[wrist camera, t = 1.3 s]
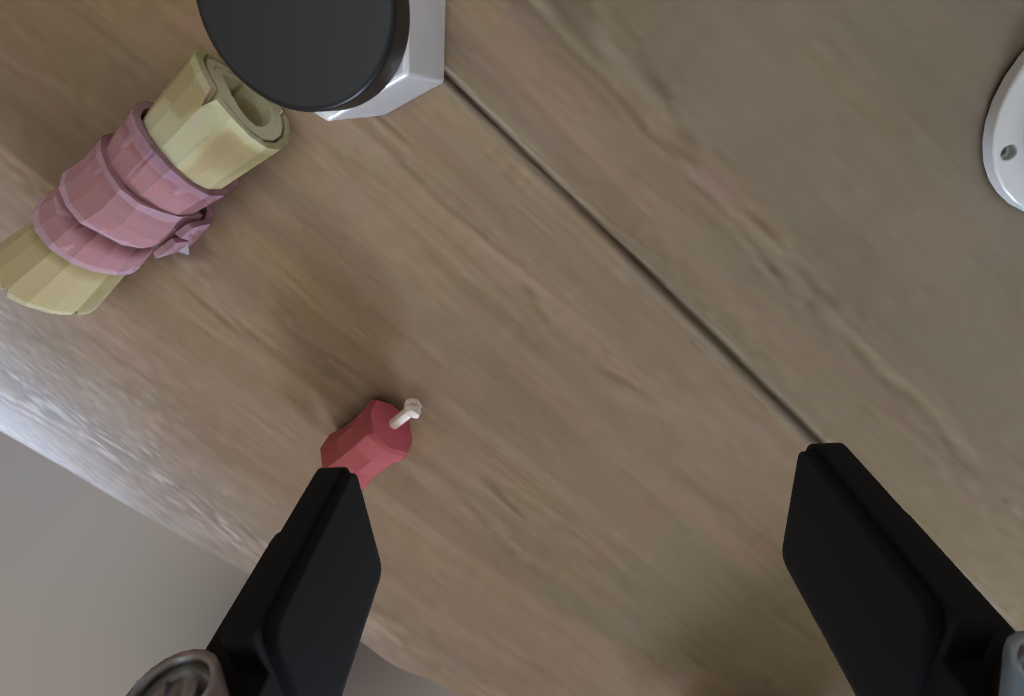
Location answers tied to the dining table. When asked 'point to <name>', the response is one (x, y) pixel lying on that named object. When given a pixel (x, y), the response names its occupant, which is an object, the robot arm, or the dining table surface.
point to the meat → (371, 440)
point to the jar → (331, 51)
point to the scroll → (142, 189)
